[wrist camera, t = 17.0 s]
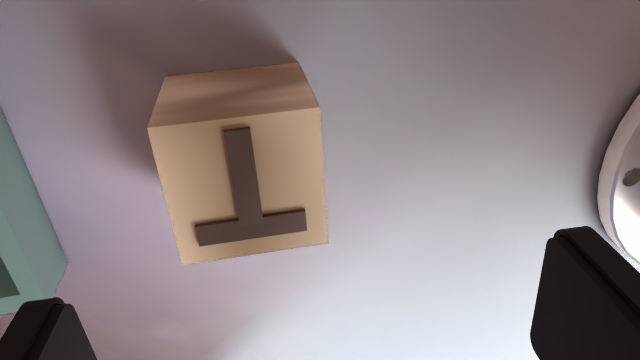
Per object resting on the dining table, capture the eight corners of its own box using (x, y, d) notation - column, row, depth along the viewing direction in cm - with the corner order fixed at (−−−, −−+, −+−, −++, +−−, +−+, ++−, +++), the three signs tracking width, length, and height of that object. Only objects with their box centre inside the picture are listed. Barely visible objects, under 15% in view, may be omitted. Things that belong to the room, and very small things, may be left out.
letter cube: (298, 61, 17) (320, 109, 13) (307, 174, 19) (329, 246, 15) (165, 75, 16) (145, 130, 12) (191, 190, 19) (181, 268, 15)
